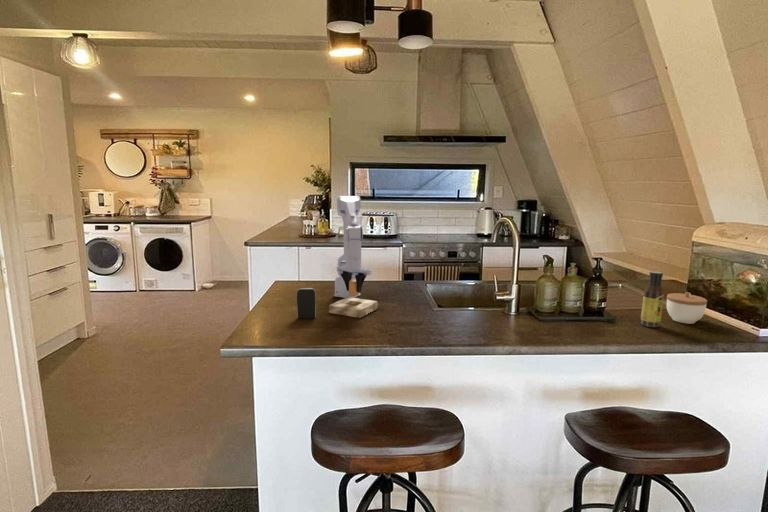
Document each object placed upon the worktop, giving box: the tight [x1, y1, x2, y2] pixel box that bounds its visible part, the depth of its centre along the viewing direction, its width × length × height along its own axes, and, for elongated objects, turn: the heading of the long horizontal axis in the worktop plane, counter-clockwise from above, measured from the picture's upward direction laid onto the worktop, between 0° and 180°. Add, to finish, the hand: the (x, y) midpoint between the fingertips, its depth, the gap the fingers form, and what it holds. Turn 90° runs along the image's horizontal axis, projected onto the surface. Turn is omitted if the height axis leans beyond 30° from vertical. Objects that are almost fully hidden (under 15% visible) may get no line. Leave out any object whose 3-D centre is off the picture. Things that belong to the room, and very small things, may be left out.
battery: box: [296, 287, 317, 320], centre depth 166 cm, size 7×4×11 cm, turn 95°
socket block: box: [328, 297, 379, 319], centre depth 176 cm, size 14×14×3 cm
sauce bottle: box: [640, 270, 665, 328], centre depth 161 cm, size 6×6×20 cm
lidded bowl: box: [666, 291, 708, 325], centre depth 168 cm, size 13×13×11 cm
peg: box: [349, 280, 360, 297], centre depth 174 cm, size 4×4×6 cm
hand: (353, 291), depth 175 cm, fingers closed on peg, 4 cm apart
